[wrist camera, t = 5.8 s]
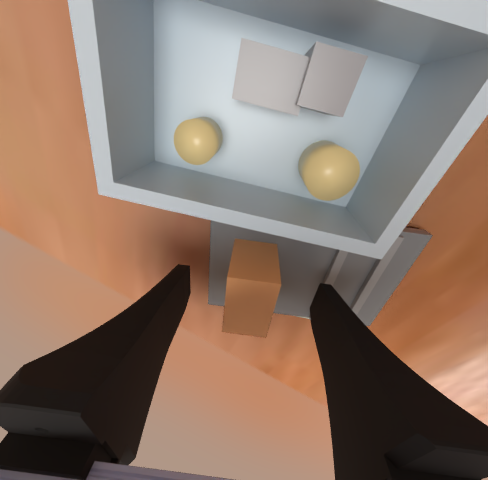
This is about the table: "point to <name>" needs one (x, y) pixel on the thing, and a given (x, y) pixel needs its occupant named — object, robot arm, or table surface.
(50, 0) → the table surface
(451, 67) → the tub
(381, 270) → the lid
